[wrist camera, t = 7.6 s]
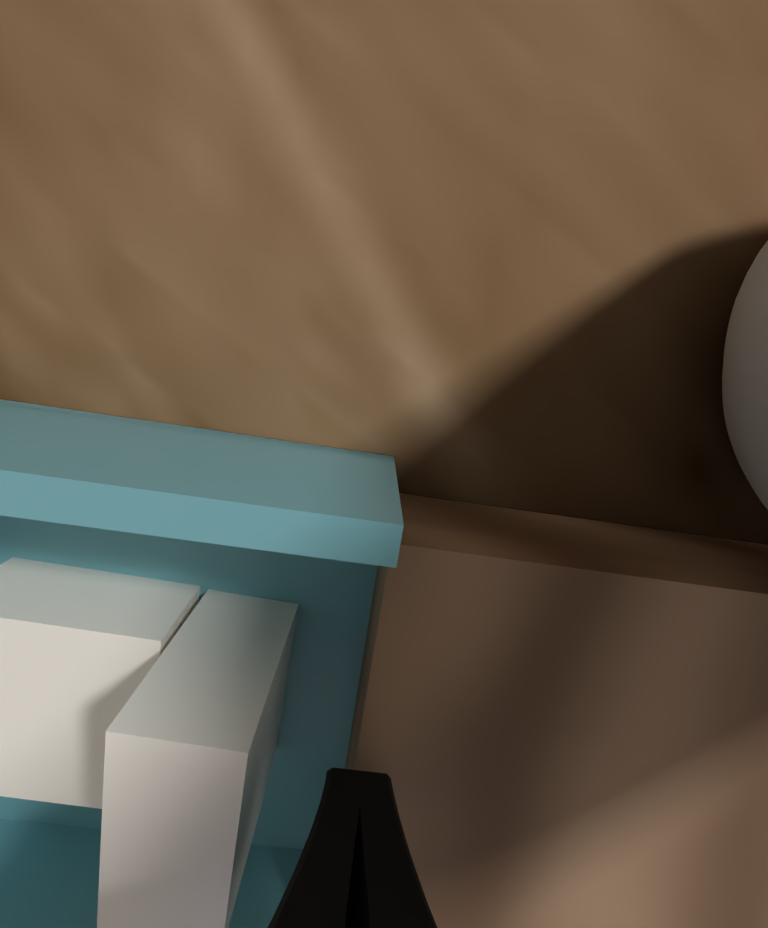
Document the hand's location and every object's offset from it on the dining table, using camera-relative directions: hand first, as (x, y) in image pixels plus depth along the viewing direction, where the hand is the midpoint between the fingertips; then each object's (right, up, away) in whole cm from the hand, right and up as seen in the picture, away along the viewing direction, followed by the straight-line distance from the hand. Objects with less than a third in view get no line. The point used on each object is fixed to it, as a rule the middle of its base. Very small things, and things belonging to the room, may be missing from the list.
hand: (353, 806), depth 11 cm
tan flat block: (+10, 0, +4) cm, 11 cm away
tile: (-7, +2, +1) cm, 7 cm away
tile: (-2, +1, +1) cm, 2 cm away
